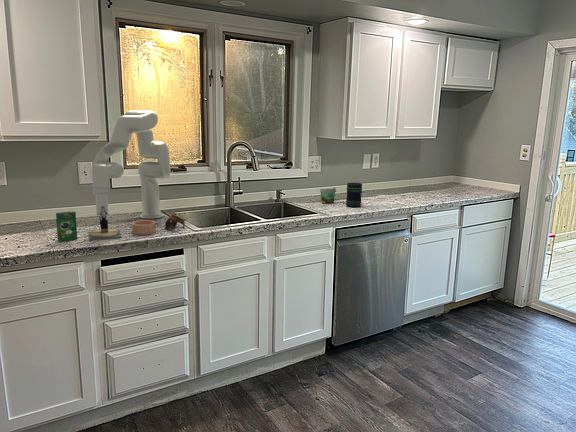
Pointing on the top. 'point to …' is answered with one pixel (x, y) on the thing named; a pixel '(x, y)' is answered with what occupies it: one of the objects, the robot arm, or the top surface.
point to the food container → (327, 196)
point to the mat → (105, 238)
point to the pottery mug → (173, 222)
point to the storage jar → (354, 195)
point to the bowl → (143, 227)
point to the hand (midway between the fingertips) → (103, 226)
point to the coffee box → (66, 226)
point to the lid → (104, 233)
